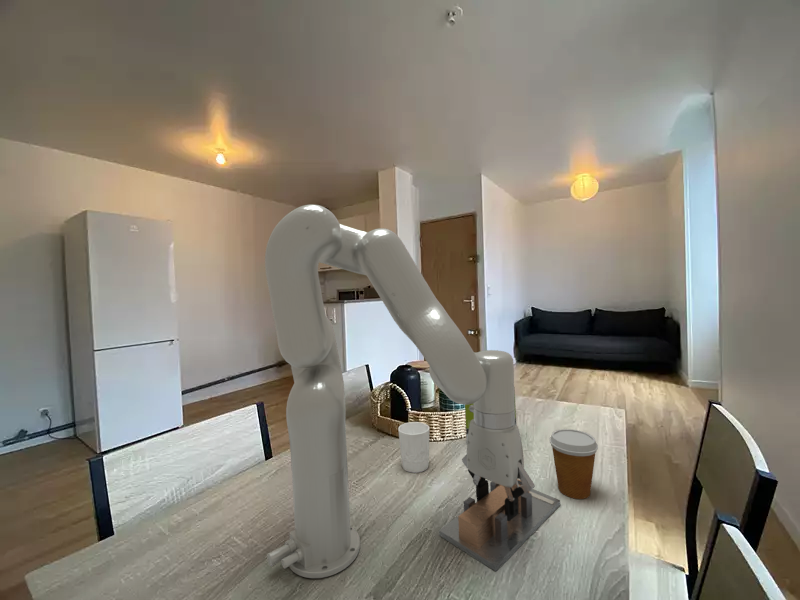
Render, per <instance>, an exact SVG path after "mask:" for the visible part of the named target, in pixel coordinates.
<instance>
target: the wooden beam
mask: <svg viewBox="0 0 800 600" xmlns="http://www.w3.org/2000/svg"><path fill="white" fill-rule="evenodd" d="M517 481H518V484H519V486H521V485H523V484H522V482H521V480H520V479H517ZM512 490H513V488H512ZM489 492H490V491H489ZM528 493H529V492H528ZM506 498H507V494H506V491H505V488H504V486H501V485H500V486H498V487H497V488H496V489H494V490H493V491H491V492H490V493H489V494H487V495H486V496H485V497H483V498H482V499H481V500H479V501H478V502H477V501H476V502H477V503H476V502H475V504H474V505H473V506H471V507H470V508H469V509H467V510H466V511H465V512H464V511H462V512H463V513H462V512H461V513H462V514H461V513H460V514H461V515H460V514H459V516H458V515H457V516H458V519H459V538H460V539H462V540H463V541H465V542H466V543H468V544H470V545H471V546H473V547H475V548H476V549H479V548H480V547H481V546H482V545H484V544H485V543H486V542H487V541H488V540H489V539H490V538H491V537H492V536H494V535H495V517H496V516H498V515H499V514H500V513H503V514H505V499H506ZM520 511H521V496H520V497H518V513H519V512H520ZM508 522H509V521H507V523H508Z"/></svg>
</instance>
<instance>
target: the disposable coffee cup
mask: <svg viewBox="0 0 800 600" xmlns="http://www.w3.org/2000/svg"><path fill="white" fill-rule="evenodd" d="M550 435H551V436H550V437H549V443H550V445H551V448H552V449H551V450H552V454H553V463H554V468H555V474H556V481H557V489H558V491H559V492H560V493H561V494H562V495H563V496H565V497H568V498H571V499H575V500H584V499H587V498H589V497H591V491H592V482H593V477H594V476H593V474H594V467H595V460H596V453H597V451H598V449H599V445H598V442H597V441H596V438H595V437H594V436H593V435H591V434H590V433H587V432H584V431H582V430H577V429H571V428H566V429H565V428H563V429H556V430H554V431H552V432H551V434H550Z"/></svg>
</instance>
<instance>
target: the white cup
mask: <svg viewBox="0 0 800 600" xmlns="http://www.w3.org/2000/svg"><path fill="white" fill-rule="evenodd" d="M397 430H398V438H399V439H398V440H399V441H398V442H399V450H400V457H401V458H400V459H401V467H402V469H403V470H405V472H408V473H413V474H415V473H417V474H418V473H421V472H425V471H426V470H428V468H429V465H430V463H429V457H430V425H428V424H427V423H424V422H421V421H420V422H419V421H410V422H405V423H402V424H400V425H399V426H398V428H397Z"/></svg>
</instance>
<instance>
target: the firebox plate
mask: <svg viewBox="0 0 800 600" xmlns="http://www.w3.org/2000/svg"><path fill="white" fill-rule="evenodd" d="M498 486H500V485H499V484H497V483H494V482H492V481H490V485H489V493H490V492H491V491H493V490H494V489H496V488H497V487H498ZM475 503H477V501H476V499H475V498H473V497H468V498H466V499H465V500H463V511H462V512H461V513H460V514H459V515H461V514H462V513H463V512H465V511H466V510H467V509H469V508H470V507H471V506H473V505H474V504H475ZM560 506H561V500H560V499H559V498H555V497H553V496H550V495H548V494H545V493H544V492H542V491H538V490H536V489H534V488H533V489H532V490H530V491H529V493H528V492H527V493H524V494H522V495H521V511H520V512H519V513H518V514H517V515H516V516H515V517H514V518H513V519H511V520H510V521H509V522H508V523H507V515H505V514H503V513H500V514H499V515H498V516H496V517H495V535H494V536H492V537H491V538H490V539H489V540H488V541H487V542H486V543H485V544H484V545H482V546H481V547H480V548H479V549H476V548H475V547H473V546H471V545H470V544H468V543H466V542H465V541H463V540H462V539H460V538H459V519H458V516H459V515H457V516H456V517H454V518H453V519H452V520H451V521H450V520H449V522H448V523H446V524H445V525H443V526H442V527H441V528H440V529H439V530H438V536H440V537H441V538H442V539H444V540H445V541H447V542H449V543H451V544H452V545H453V546H455V547H457V548H458V549H460V550H461V551H463V552H464V553H466V554H468V556H470V557H472V558H474V559H475V560H476V561H478V562H480V563H482V565H485V566H486V567H488V568H489V569H491V570H492V571H494V572H497V571H498V570H499V569H500V568H501V567H502V566H503V565H504V564H505V563H506V562H508V560H509V559H510V558H511V557H512V556H513V555H514V554H515V553H516V552H517V551H518V550H519V549H520V548H521V547H522V545H523V544H524V543H525V542H526V541H527V540H528V539H529V538H530V537H531V536H533V534H534V533H535V532H536V531H537V530H538V529H539V528H540V526H542V525H543V523H544V522H545V521H546V520H547V519H548V518H550V516H551V515H552V514H553V513H554V512H555V511H556V510H557V509H558V508H559V507H560Z"/></svg>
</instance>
